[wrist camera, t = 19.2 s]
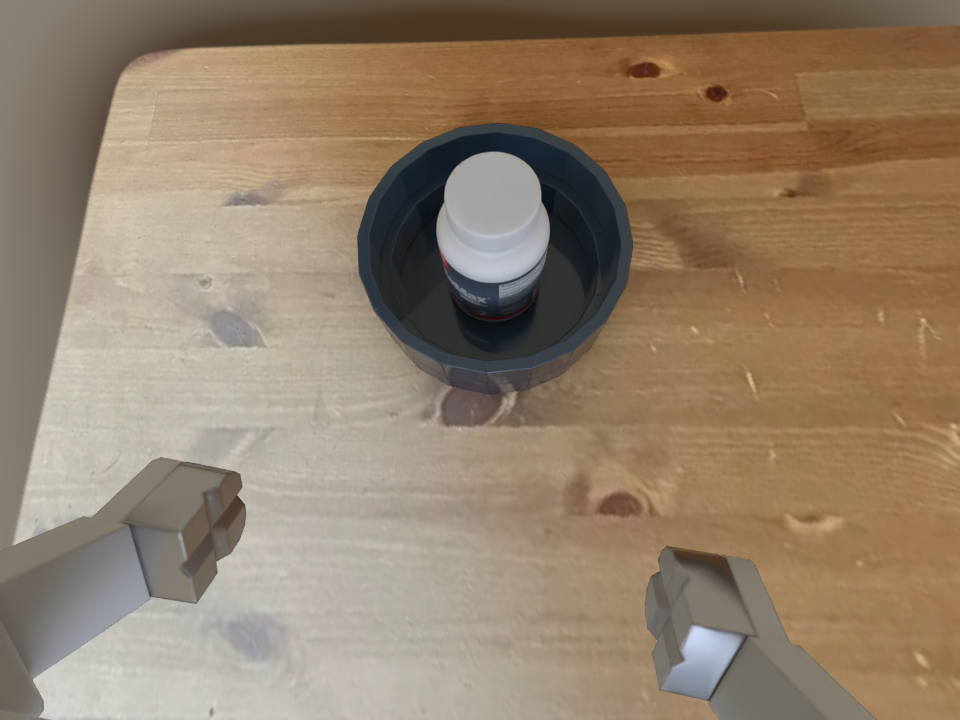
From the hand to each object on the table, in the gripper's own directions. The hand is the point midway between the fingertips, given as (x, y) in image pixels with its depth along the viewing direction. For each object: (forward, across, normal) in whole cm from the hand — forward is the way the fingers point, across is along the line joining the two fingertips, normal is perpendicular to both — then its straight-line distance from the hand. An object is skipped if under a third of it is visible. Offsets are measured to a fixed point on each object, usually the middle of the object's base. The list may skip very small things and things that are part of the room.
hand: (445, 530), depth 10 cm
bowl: (+22, +1, +3) cm, 22 cm away
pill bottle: (+21, +1, +2) cm, 21 cm away
